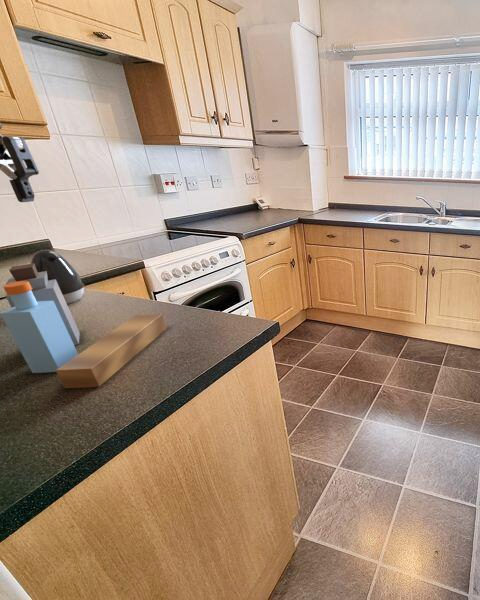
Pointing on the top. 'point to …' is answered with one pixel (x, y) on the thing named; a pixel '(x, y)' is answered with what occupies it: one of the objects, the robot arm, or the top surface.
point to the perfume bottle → (45, 294)
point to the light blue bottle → (37, 329)
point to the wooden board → (111, 352)
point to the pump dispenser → (60, 273)
